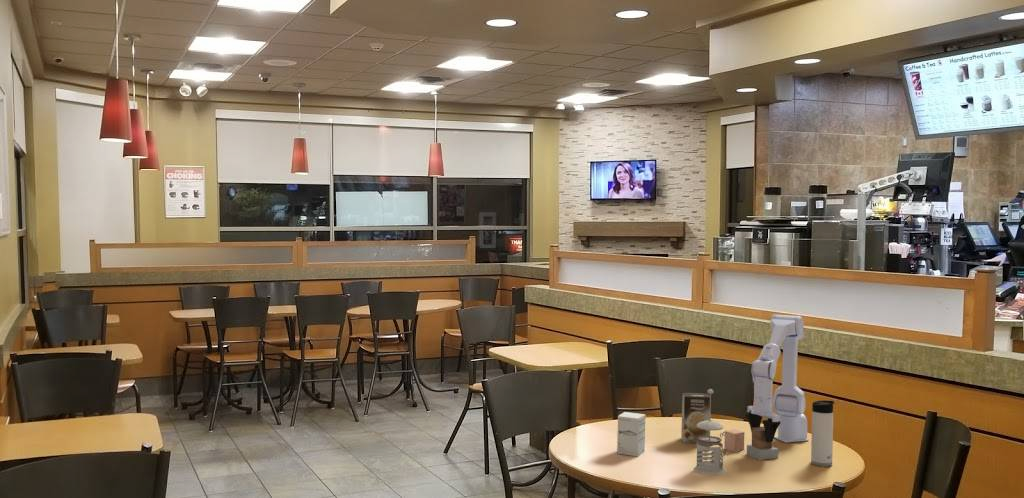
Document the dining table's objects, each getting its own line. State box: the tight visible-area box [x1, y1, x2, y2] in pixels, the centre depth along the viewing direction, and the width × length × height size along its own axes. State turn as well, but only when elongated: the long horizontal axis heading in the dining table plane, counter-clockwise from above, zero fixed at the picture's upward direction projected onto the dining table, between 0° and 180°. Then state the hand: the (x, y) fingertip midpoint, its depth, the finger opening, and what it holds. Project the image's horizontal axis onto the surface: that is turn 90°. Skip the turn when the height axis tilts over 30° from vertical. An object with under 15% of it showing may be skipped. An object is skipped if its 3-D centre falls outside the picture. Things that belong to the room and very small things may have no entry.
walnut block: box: [751, 425, 773, 449], centre depth 274 cm, size 4×4×6 cm
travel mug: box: [810, 400, 835, 467], centre depth 266 cm, size 6×7×20 cm
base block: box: [746, 444, 779, 461], centre depth 275 cm, size 7×7×3 cm
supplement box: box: [616, 411, 647, 458], centre depth 278 cm, size 7×7×13 cm
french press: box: [692, 388, 732, 476], centre depth 258 cm, size 10×12×25 cm
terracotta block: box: [723, 428, 745, 452], centre depth 283 cm, size 4×4×6 cm
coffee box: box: [680, 392, 711, 444], centre depth 293 cm, size 9×6×16 cm
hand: (762, 438), depth 274 cm, fingers open, 7 cm apart
